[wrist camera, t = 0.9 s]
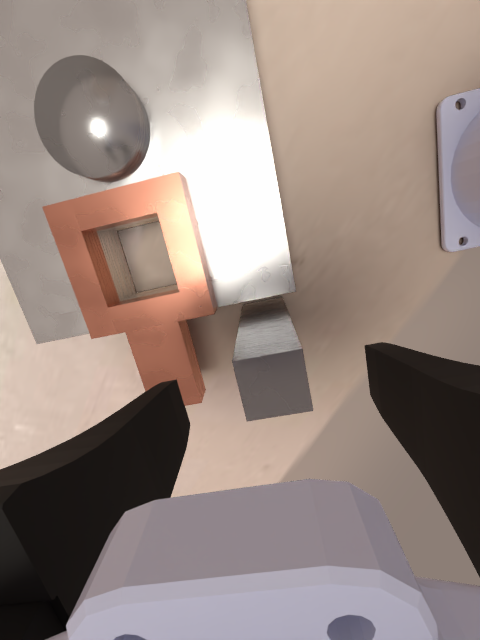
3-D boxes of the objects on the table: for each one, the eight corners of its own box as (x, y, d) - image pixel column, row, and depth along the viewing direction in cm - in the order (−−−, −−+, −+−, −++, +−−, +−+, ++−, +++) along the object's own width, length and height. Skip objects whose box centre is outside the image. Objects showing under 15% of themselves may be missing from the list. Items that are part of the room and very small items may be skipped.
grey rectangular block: (282, 296, 20) (302, 348, 11) (289, 333, 20) (313, 410, 12) (242, 304, 20) (232, 361, 11) (251, 340, 20) (246, 421, 12)
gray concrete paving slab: (216, -139, 14) (201, -280, 10) (303, 355, 21) (314, 383, 17) (-82, -28, 16) (-191, -112, 12) (87, 394, 22) (52, 428, 18)
